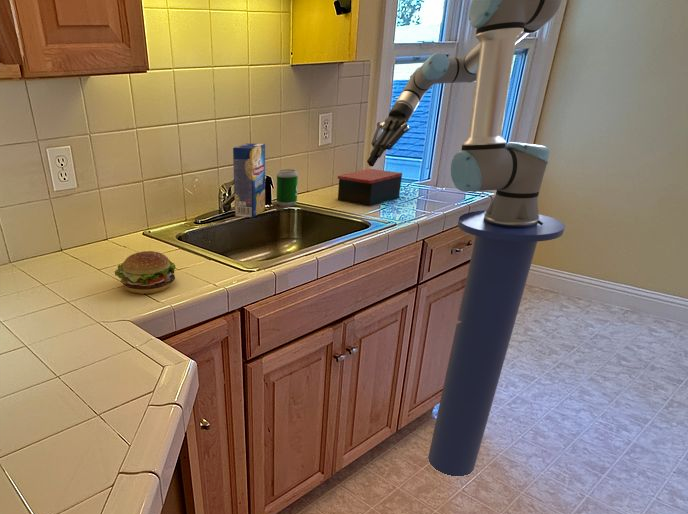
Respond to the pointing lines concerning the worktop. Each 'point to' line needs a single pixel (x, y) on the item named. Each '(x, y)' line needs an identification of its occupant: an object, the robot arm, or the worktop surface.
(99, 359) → the worktop surface
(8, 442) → the worktop surface
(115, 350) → the worktop surface
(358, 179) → the lid
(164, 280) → the food
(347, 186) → the black open box
